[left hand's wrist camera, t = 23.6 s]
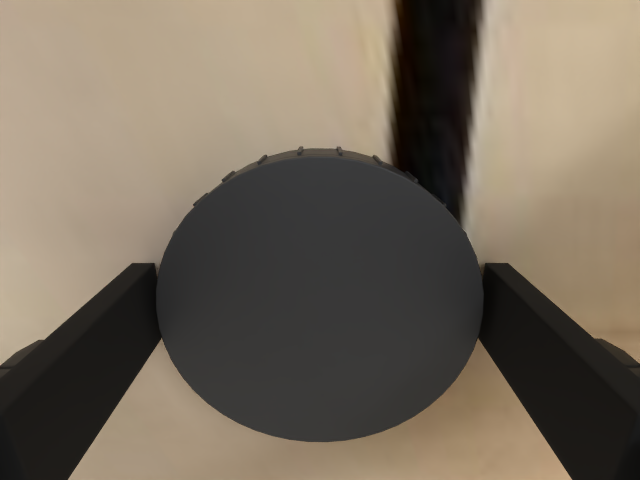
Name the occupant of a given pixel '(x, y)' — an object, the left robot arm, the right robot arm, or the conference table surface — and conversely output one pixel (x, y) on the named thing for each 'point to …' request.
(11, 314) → the conference table surface
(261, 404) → the lid
